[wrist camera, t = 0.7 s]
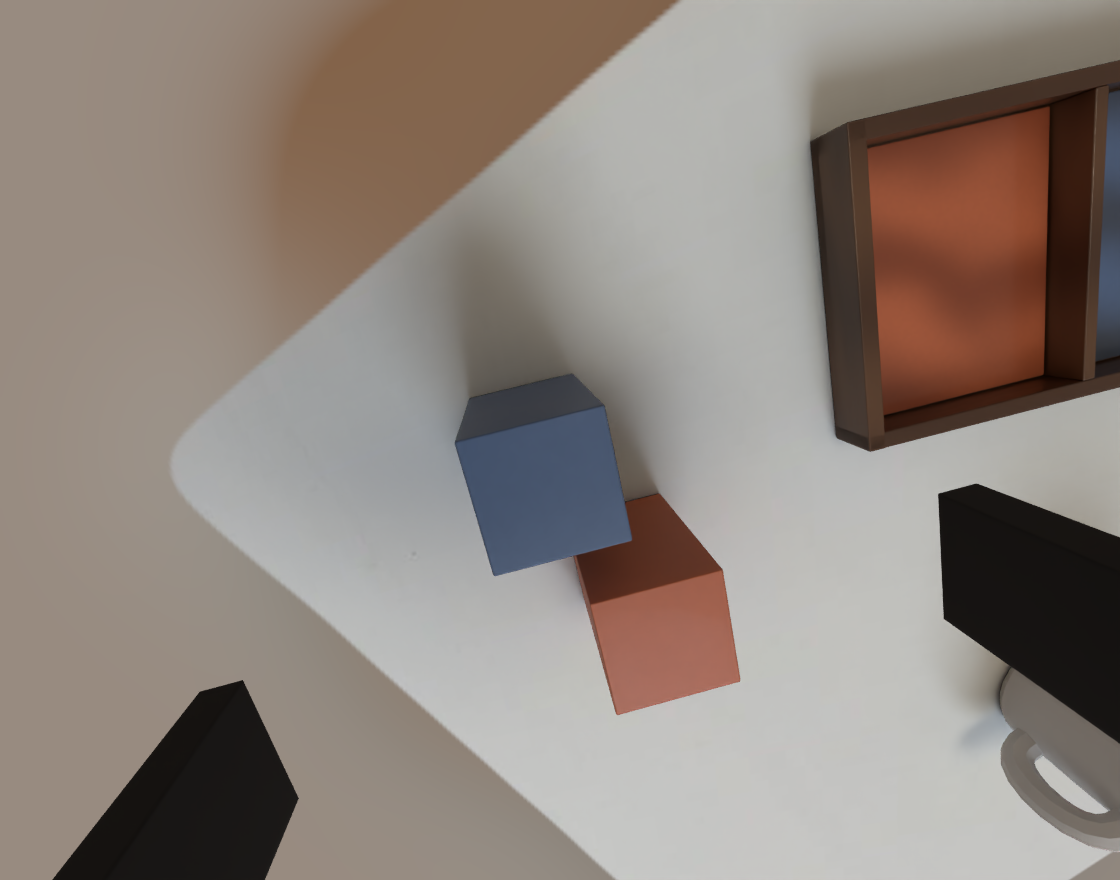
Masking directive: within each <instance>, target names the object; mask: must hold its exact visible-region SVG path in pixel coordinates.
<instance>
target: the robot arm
mask: <svg viewBox="0 0 1120 880" xmlns="http://www.w3.org/2000/svg"><path fill="white" fill-rule="evenodd" d="M938 498H939V521H940V543H941V566H942V588H943V610H944V619H945V620H946V621H948V622H949V623H951V624H952V625H953V626H955V627H956V628H958V629H959V630H960V631H962V632H963V633H965V634H966V635H967V636H969V637H970V638H972V639H973V640H974V641H976V642H977V643H979V644H980V645H981V646H983V647H984V648H986V649H987V650H989V651H990V652H991V653H993V654H994V655H996V656H997V657H998V658H1000V659H1001V660H1003V661H1004V662H1005V663H1007V664H1008V665H1010V666H1011V667H1012V668H1014V669H1015V670H1017V671H1018V672H1019V673H1021V674H1022V675H1024V676H1025V677H1026V678H1028V679H1029V680H1031V681H1032V682H1033V683H1035V684H1036V685H1038V686H1039V687H1040V688H1042V689H1043V690H1045V691H1046V692H1048V693H1049V694H1050V695H1052V696H1053V697H1055V698H1056V699H1057V700H1059V701H1060V702H1062V703H1063V704H1064V705H1066V706H1067V707H1069V708H1070V709H1071V710H1073V711H1074V712H1076V713H1077V714H1078V715H1080V716H1081V717H1083V718H1084V719H1085V720H1087V721H1088V722H1090V723H1091V724H1092V725H1094V726H1095V727H1097V728H1098V729H1099V730H1101V731H1102V732H1104V733H1105V734H1107V735H1108V736H1109V737H1111V738H1112V739H1114V740H1115V741H1116V742H1118V743H1119V744H1120V537H1117V536H1114V535H1112V534H1109V533H1106V532H1104V531H1101V530H1098V529H1096V528H1093V527H1090V526H1088V525H1085V524H1082V523H1080V522H1077V521H1075V520H1072V519H1069V518H1067V517H1064V516H1061V515H1059V514H1056V513H1053V512H1051V511H1048V510H1045V509H1043V508H1040V507H1037V506H1035V505H1032V504H1029V503H1027V502H1024V501H1021V500H1019V499H1016V498H1014V497H1011V496H1008V495H1006V494H1003V493H1000V492H998V491H995V490H992V489H990V488H987V487H984V486H982V485H979V484H973V485H969V486H966V487H962V488H958V489H954V490H951V491H947V492H943V493H939V494H938ZM298 799H299V798H298V796H297V794H296V792H295V790H294V787H293V785H292V783H291V781H290V779H289V777H288V775H287V773H286V771H285V768H284V766H283V764H282V762H281V760H280V758H279V756H278V754H277V751H276V749H275V747H274V745H273V743H272V741H271V739H270V737H269V735H268V732H267V730H266V728H265V726H264V724H263V722H262V720H261V718H260V715H259V713H258V711H257V709H256V707H255V705H254V703H253V701H252V699H251V696H250V694H249V692H248V690H247V688H246V686H245V684H244V682H243V680H242V681H238V682H234V683H231V684H227V685H223V686H219V687H216V688H212V689H209V690H204V691H201V692H199V693H198V695H197V696H196V697H195V699H194V700H193V701H192V702H191V704H190V705H189V706H188V707H187V709H186V710H185V712H184V713H183V714H182V715H181V717H180V718H179V719H178V720H177V722H176V723H175V724H174V726H173V727H172V728H171V729H170V730H169V732H168V733H167V734H166V736H165V737H164V738H163V739H162V741H161V742H160V743H159V744H158V746H157V747H156V748H155V750H154V751H153V752H152V754H151V755H150V756H149V757H148V758H147V760H146V761H145V762H144V764H143V765H142V766H141V768H140V769H139V770H138V771H137V773H136V774H135V775H134V776H133V778H132V779H131V780H130V781H129V783H128V784H127V785H126V787H125V788H124V789H123V790H122V792H121V793H120V794H119V796H118V797H117V798H116V799H115V801H114V802H113V803H112V804H111V806H110V807H109V808H108V810H107V811H106V812H105V813H104V815H103V816H102V817H101V818H100V820H99V821H98V822H97V824H96V825H95V826H94V827H93V829H92V830H91V831H90V832H89V834H88V835H87V836H86V838H85V839H84V840H83V841H82V843H81V844H80V845H79V847H78V848H77V849H76V850H75V852H74V853H73V854H72V855H71V857H70V858H69V859H68V860H67V862H66V863H65V864H64V866H63V867H62V868H61V870H60V871H59V872H58V873H57V874H56V876H55V877H54V879H53V880H265V878H266V876H267V873H268V871H269V868H270V866H271V864H272V861H273V859H274V857H275V854H276V852H277V849H278V847H279V844H280V842H281V840H282V837H283V835H284V832H285V830H286V828H287V825H288V823H289V820H290V818H291V816H292V813H293V811H294V808H295V806H296V804H297V801H298Z"/></svg>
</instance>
